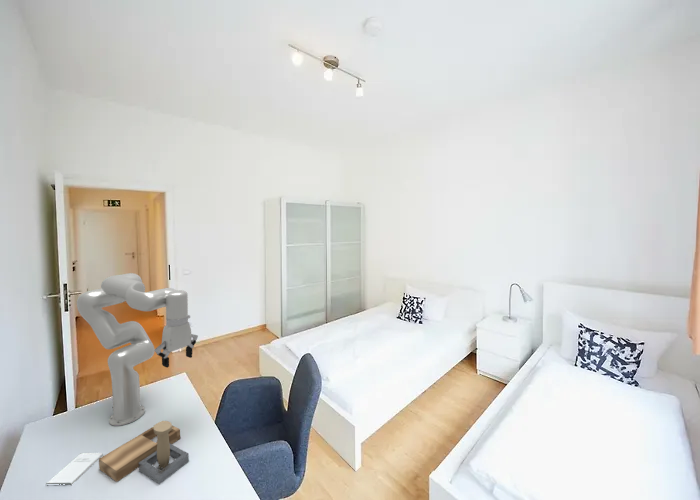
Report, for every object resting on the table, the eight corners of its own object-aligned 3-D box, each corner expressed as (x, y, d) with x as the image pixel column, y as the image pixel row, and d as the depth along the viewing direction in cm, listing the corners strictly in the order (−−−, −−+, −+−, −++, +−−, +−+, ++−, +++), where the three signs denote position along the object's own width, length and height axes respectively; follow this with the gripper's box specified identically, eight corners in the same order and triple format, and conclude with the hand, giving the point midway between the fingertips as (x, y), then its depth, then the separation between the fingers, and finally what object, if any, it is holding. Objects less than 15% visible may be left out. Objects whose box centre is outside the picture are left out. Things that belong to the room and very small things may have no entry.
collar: (138, 470, 100) (138, 462, 99) (168, 450, 109) (168, 442, 109) (159, 484, 95) (158, 475, 95) (188, 461, 104) (188, 453, 104)
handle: (162, 474, 98) (160, 433, 97) (151, 467, 101) (150, 427, 100) (176, 464, 103) (174, 425, 102) (165, 457, 106) (164, 419, 104)
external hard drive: (45, 487, 94) (80, 456, 106) (71, 487, 94) (103, 456, 106) (45, 483, 93) (80, 452, 106) (71, 482, 94) (102, 452, 106)
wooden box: (99, 469, 100) (98, 458, 100) (163, 429, 120) (163, 420, 119) (116, 482, 95) (116, 470, 95) (180, 438, 115) (180, 429, 115)
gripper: (191, 314, 126) (191, 351, 127) (149, 325, 110) (150, 368, 112) (202, 317, 122) (202, 355, 124) (160, 329, 107) (161, 373, 108)
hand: (177, 361), depth 118 cm, fingers open, 9 cm apart
